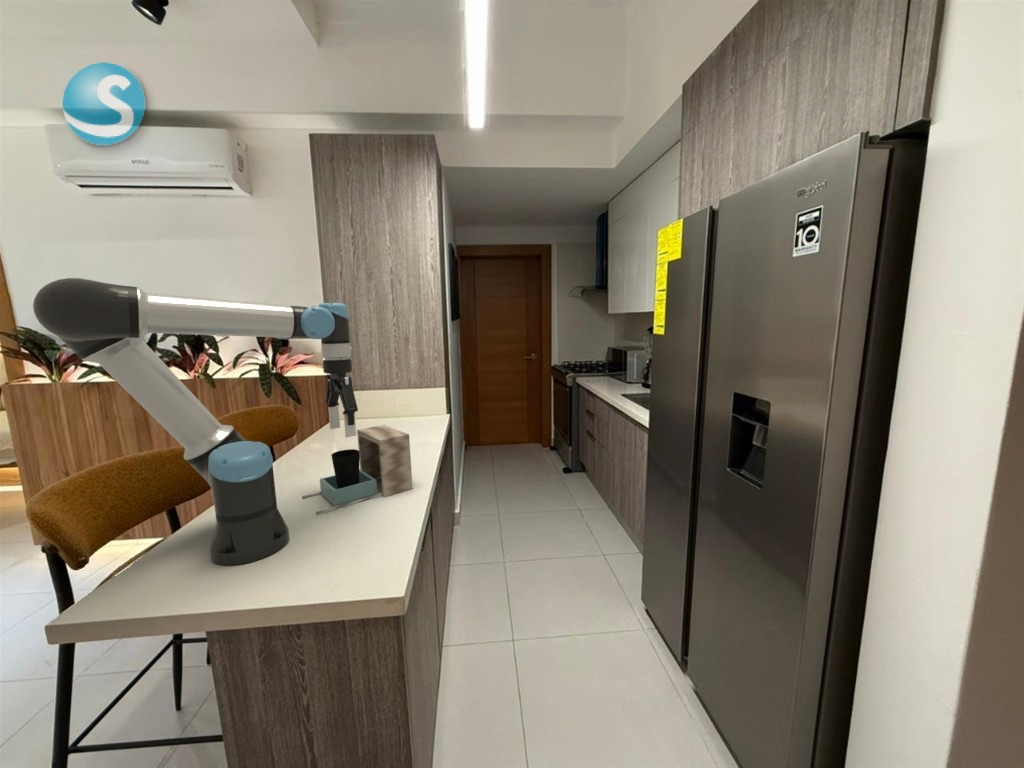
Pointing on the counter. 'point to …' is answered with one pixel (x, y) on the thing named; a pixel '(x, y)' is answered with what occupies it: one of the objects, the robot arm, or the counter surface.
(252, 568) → the counter surface
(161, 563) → the counter surface
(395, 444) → the sliding drawer cabinet
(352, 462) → the cup
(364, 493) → the tray
